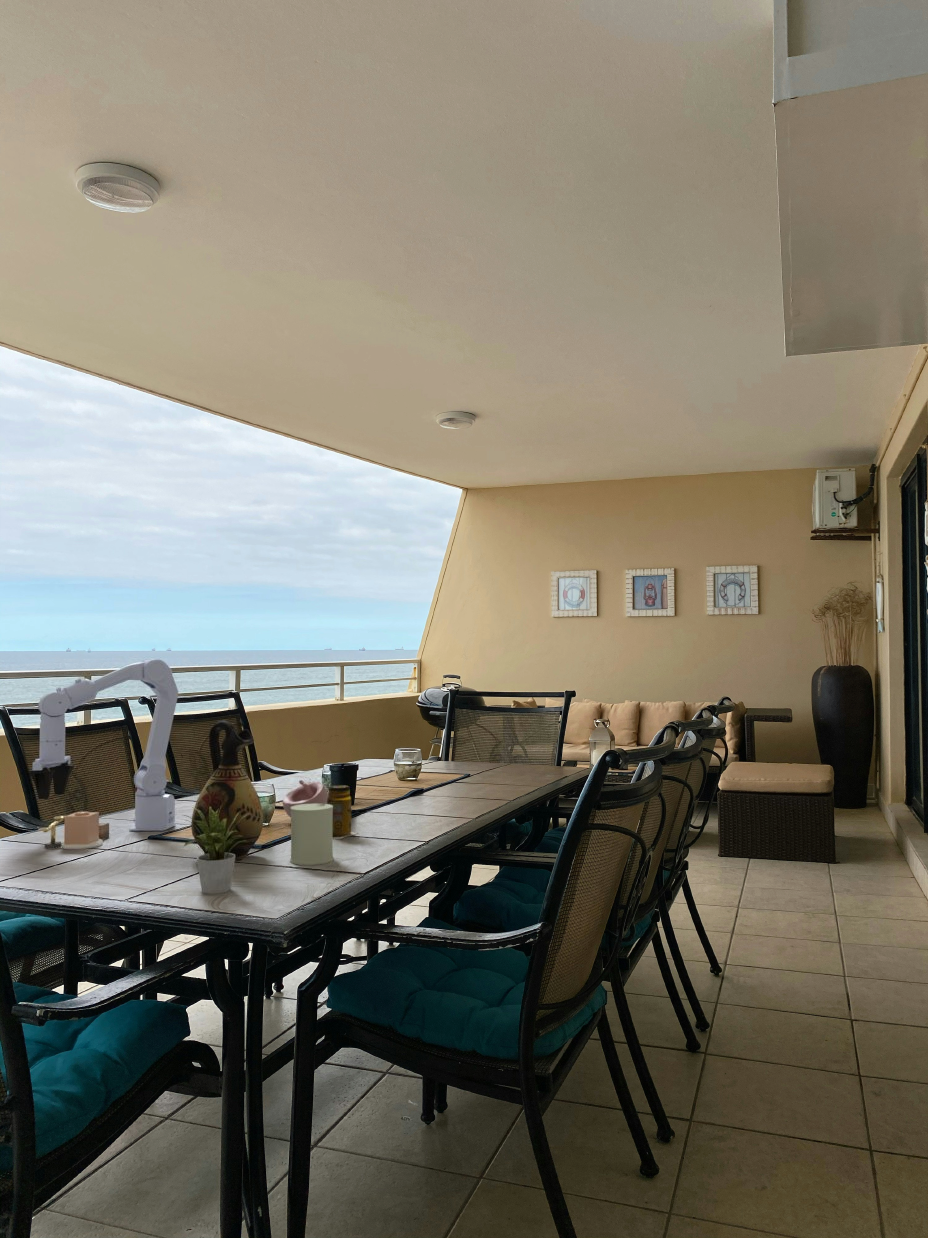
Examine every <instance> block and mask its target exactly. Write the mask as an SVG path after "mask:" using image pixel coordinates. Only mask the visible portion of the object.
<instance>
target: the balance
mask: <svg viewBox="0 0 928 1238" xmlns="http://www.w3.org/2000/svg"><path fill="white" fill-rule="evenodd" d="M65 816H66V815H56V816H53V820H55V821H53V822H52V823H50V824H49V825H48V826H45V827H41V828H40V827H39V828H38V832H43V833H48V832H50V841H49V842H46V843H45V844H44V849H45V848H47V849H48V848H55V849H57V848H59V847H58V846H60V847H61V843H62V841H56V835H57V833H56V828H57V827H56V826H57V825H58V824H60V823H61V822H63V820H65ZM56 847H57V848H56Z"/></svg>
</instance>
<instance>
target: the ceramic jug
mask: <svg viewBox="0 0 928 1238" xmlns="http://www.w3.org/2000/svg"><path fill="white" fill-rule="evenodd" d="M222 731H224V733H225V737H224V739H223V741H222V743H221V744H220V734H221V732H222ZM254 741H255V740H254V737H253V734H252V732H251V731H249V729H247V728H244V729H242V730H241V731H239V732H238V731H237V728H236V727H235V725H234V723H233V722H230V721H228V720H224V719H223V720H219V721H217V722H215V723H214V724H213V725H212V726H211V727H210V729H209V732H208V747H209V752H210V758H211V759H210V760H211V764H212V772H211V775H210V777H209V779H208V780H207V781H206V783H205V785H204V787H203V788H202V790H201V792H200V793H199V795H198V797H197V799H196V802H195V804H194V807H193V810H192V815H191V818H192V819H191V821H190V825H191V828H190V829H191V834H192V837H193V839H194V841H199V842H202V843H204V842H203V841H202V839H200V838H199V837H197V836H200V835H202V834H204V832H203V831H202V830H201V828H200V827H199V826H198V825H196V824H197V823H198V822H197V821H202V819H201V817H200V814H199V813H198V811H197V810H196V809H198V810H200V811H201V812H202V813H203V815H204V817H205V819H206V822H207V825H208V827H209V829H210V824H209V807H211V809H212V810H213V811H214V812H216V811H217V810H218V809H219V810H220V812H219V810H218V812H219V816H218V817H219V820H220V822H221V821H222V820H223V819H225V818H227V820H226V829H225V834H226V832H227V830H228V828H229V826H230V825H231V823H232V821H233V819H234V818H235V816H236V815H237V814H238V815H237V817H236V819H235V821H234V823H233V824H232V826H231V827H230V829H229V831H228V832H230V831H231V830H232V831H234V832H232V833H231V834H230V835H229V836H228V838H227V840H226V842H227V841H228V840H229V839H230V838H231V837H233V836H236V835H240V836H241V837H239V838H237V839H235V840H234V841H233V842H232V843H231V844H230V846H229V847H228V848H227V850H226V852H225V853H228V851H229V850H230V848H231V847H232V846H233V845H234V844H236V843H237V842H240V841H242V842H240V843H238V844H236V845H235V846H234V847H233V848H232V849H231V850H230V852H229V853H232V854H235V862H239V861H242V860H243V859H247V858H248V854H249V852H250V851H251V849H252V848H253V847H254V845H255V844H256V843H257V842H258V840H259V838H260V836H261V834H262V831H263V827H264V815H263V808H262V804H261V803H262V802H261V801H260V796H259V795H258V791H257V789H256V788H255V786H254V785H253V782H252V781H251V779H250V777H249V776H248V774H247V773H246V772H245V770H244V769H243V767H242V765H241V763H240V760H239V751H240V750H241V749H243V748H246V747H247V746H249V745H252V744H253V743H254ZM221 750H222V753H221ZM222 804H223V805H222ZM220 807H221V809H220ZM194 808H196V809H194ZM239 811H240V812H239ZM218 812H217V815H218ZM253 812H254V813H253ZM249 813H250V814H249ZM247 814H248V815H247ZM245 815H246V816H245ZM244 816H245V817H244ZM193 819H194V820H195V821H196V822H197V823H196V822H195V821H194V820H193ZM192 823H193V824H194V825H195V826H196V827H195V826H194V825H193V824H192ZM198 824H199V823H198ZM233 827H234V828H233ZM232 828H233V829H232ZM197 829H198V830H199V831H198V830H197ZM235 830H236V831H235ZM210 832H211V831H210ZM200 833H201V834H200ZM225 834H224V836H225ZM243 840H246V841H243ZM199 842H196V845H197V846H198V847H199V848H200V850H201V851H202V852H203V855H204V854H209V853H208V851H207V850H206V848H205V846H204V845H203V844H201V843H199Z"/></svg>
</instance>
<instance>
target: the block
mask: <svg viewBox="0 0 928 1238" xmlns="http://www.w3.org/2000/svg"><path fill="white" fill-rule="evenodd" d="M108 838H110V822H99V839H102V840H103V841H104V840H106V839H108Z"/></svg>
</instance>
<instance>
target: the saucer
mask: <svg viewBox="0 0 928 1238" xmlns="http://www.w3.org/2000/svg"><path fill="white" fill-rule="evenodd" d="M103 841H104V840H102V839H99V840H97V841H95V842H92V843H90V844H68V845H64V841H63V842H61V846H60V847H62V848H61V849H63V848H64V849H63V850H84V849H86V850H87V849H92V848H98V847H100V846H102V845H103V843H104V842H103Z"/></svg>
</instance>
